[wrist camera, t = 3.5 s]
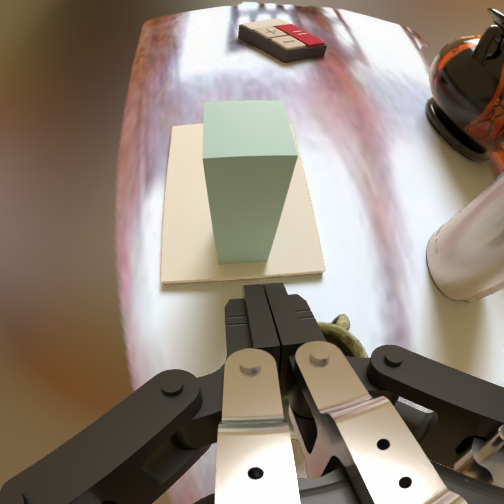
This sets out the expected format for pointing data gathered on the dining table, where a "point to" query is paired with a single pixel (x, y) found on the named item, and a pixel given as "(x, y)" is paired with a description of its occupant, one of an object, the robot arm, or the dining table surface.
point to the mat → (201, 232)
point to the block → (246, 175)
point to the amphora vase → (471, 92)
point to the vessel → (338, 337)
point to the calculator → (282, 40)
